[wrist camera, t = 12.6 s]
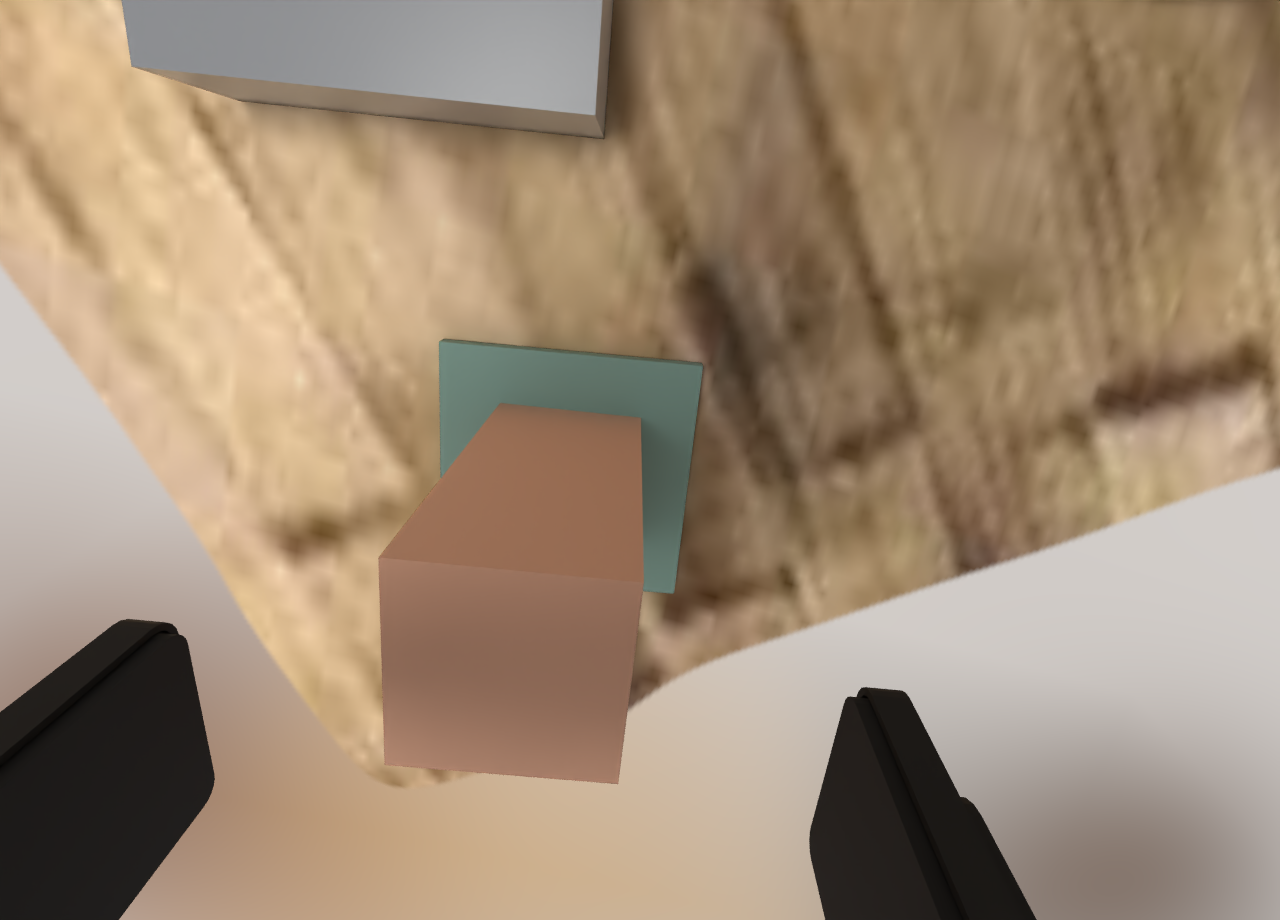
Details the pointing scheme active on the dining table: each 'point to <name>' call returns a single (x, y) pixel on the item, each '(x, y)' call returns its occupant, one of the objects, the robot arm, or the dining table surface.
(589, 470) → the peg
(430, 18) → the pocket block
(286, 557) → the dining table surface
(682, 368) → the mat
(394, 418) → the dining table surface
